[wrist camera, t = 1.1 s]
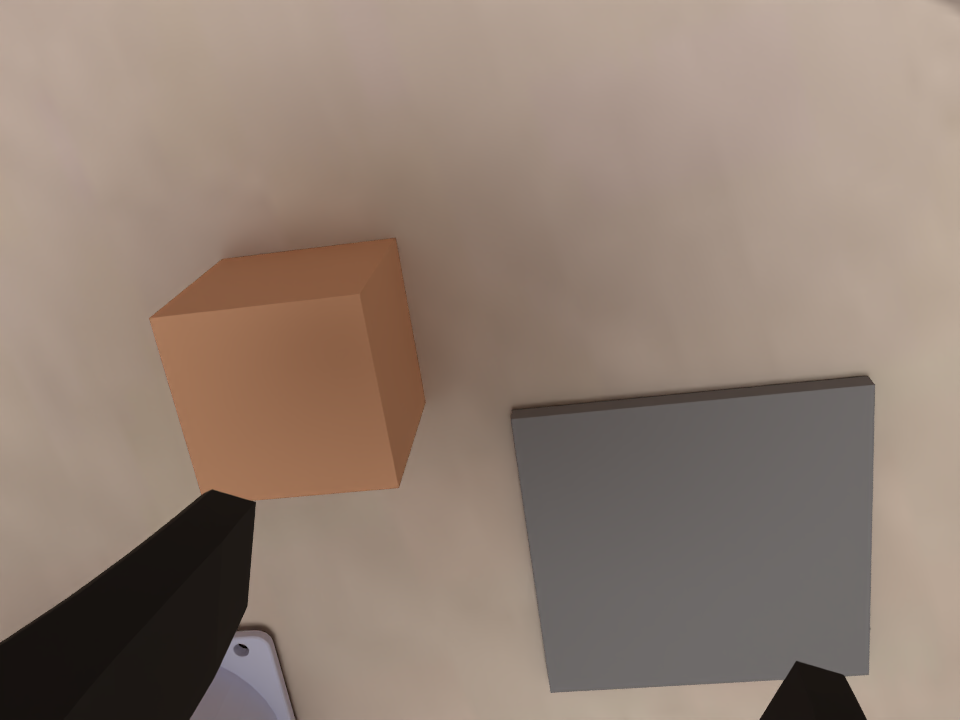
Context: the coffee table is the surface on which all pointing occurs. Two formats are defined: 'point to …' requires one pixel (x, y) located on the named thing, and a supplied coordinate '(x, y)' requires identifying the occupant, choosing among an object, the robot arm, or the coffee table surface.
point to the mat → (701, 534)
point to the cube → (295, 371)
